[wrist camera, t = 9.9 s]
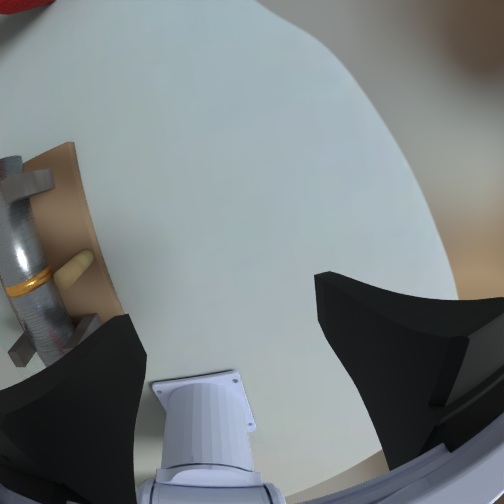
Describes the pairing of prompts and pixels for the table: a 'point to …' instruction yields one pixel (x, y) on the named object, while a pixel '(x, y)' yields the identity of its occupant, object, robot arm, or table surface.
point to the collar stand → (64, 243)
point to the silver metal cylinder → (30, 275)
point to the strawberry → (20, 5)
